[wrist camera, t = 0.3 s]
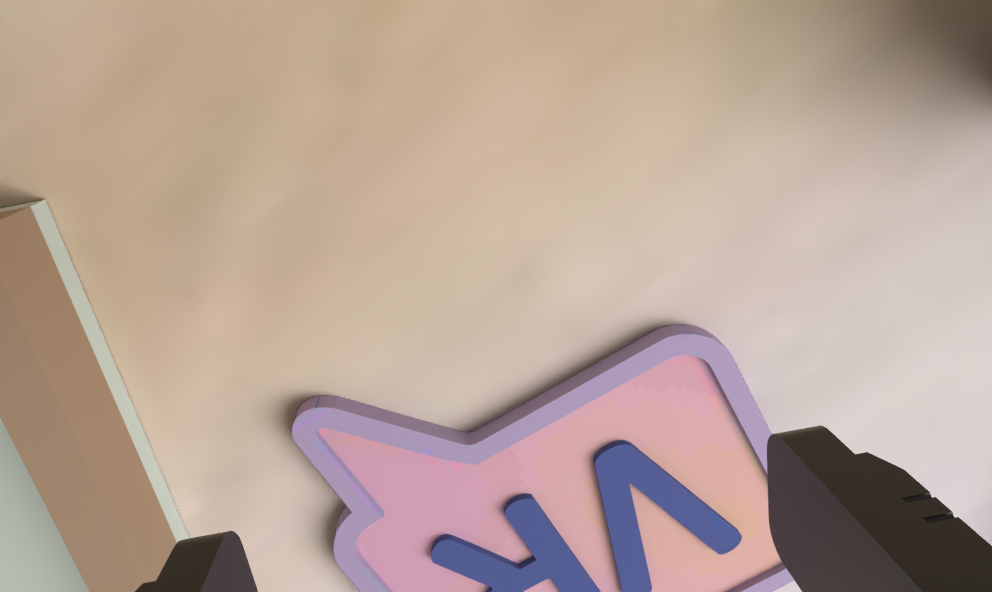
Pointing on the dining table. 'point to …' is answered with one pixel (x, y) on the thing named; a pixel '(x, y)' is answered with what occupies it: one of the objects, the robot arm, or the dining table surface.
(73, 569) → the wall panel
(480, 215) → the dining table surface
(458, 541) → the icon
